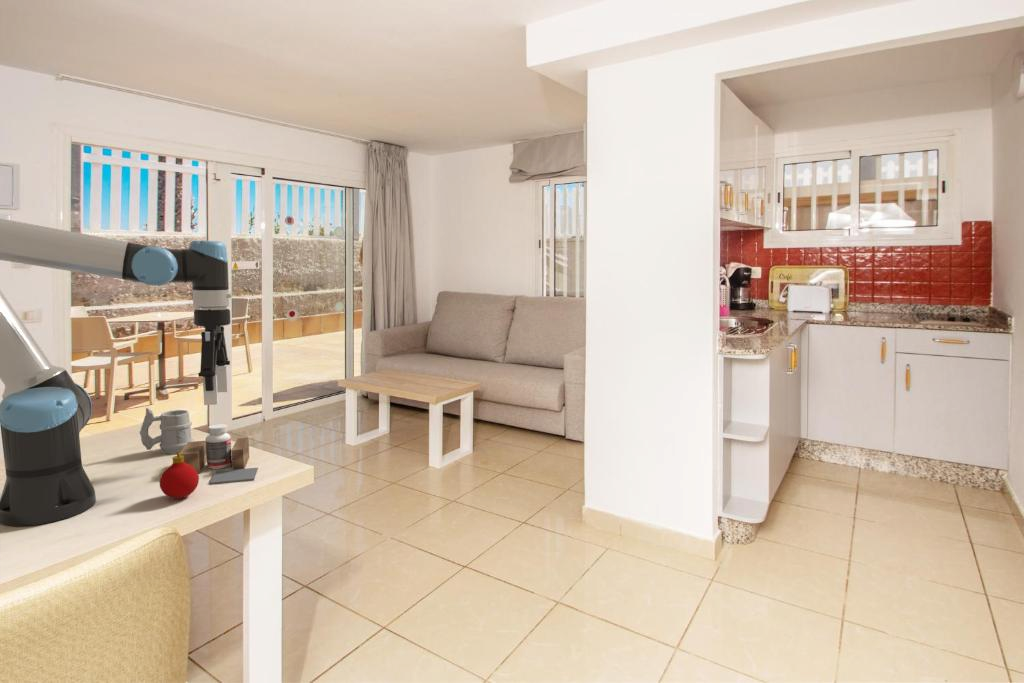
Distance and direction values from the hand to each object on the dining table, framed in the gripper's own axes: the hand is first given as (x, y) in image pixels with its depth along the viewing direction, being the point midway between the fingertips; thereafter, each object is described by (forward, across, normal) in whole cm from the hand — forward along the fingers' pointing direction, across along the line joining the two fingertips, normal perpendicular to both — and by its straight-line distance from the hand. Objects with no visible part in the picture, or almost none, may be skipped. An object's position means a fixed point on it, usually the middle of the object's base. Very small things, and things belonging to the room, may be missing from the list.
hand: (216, 398), depth 140 cm
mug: (+17, +16, +15) cm, 27 cm away
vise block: (+17, 0, 0) cm, 17 cm away
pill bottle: (+17, 0, 0) cm, 17 cm away
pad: (+17, -9, -4) cm, 19 cm away
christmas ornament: (+17, -19, +4) cm, 26 cm away
